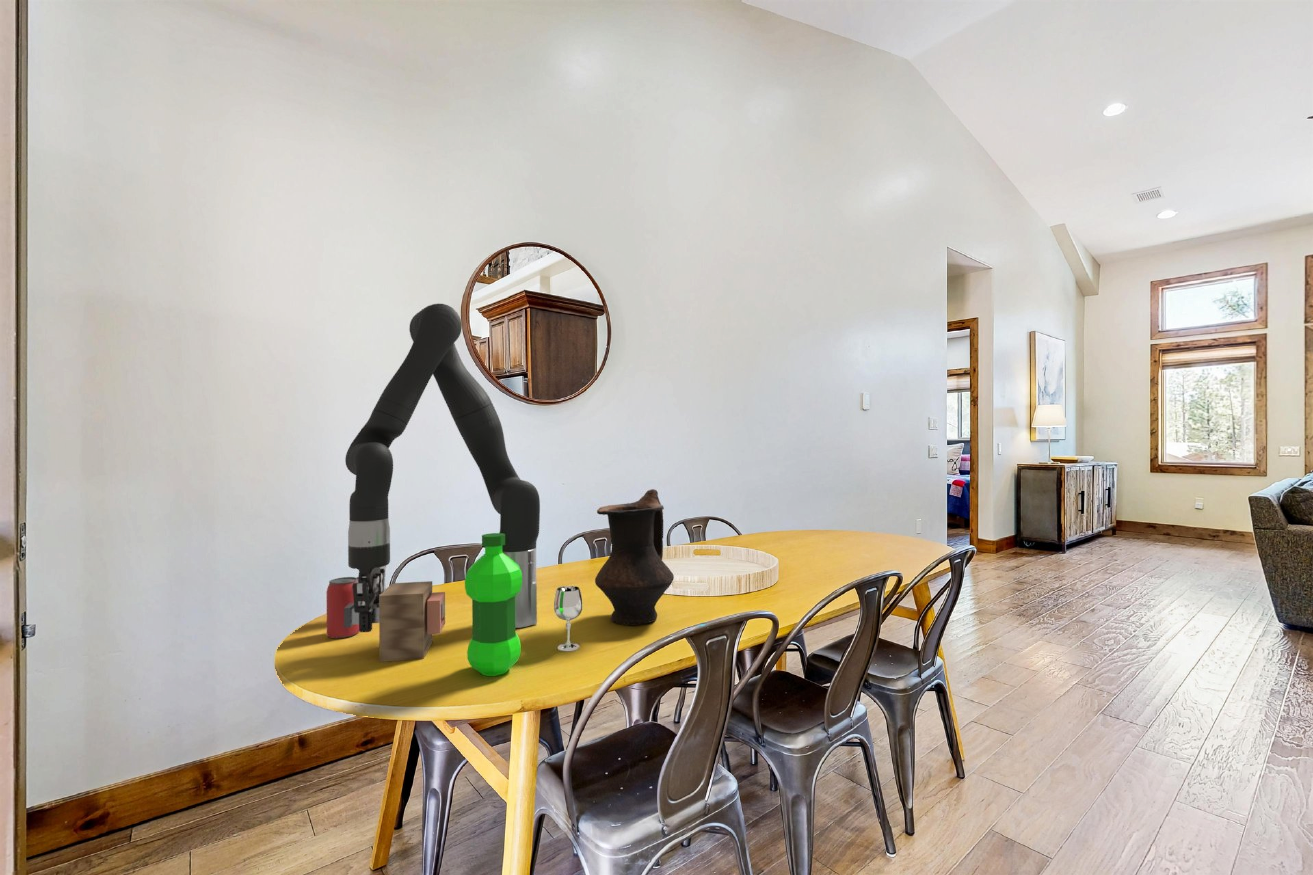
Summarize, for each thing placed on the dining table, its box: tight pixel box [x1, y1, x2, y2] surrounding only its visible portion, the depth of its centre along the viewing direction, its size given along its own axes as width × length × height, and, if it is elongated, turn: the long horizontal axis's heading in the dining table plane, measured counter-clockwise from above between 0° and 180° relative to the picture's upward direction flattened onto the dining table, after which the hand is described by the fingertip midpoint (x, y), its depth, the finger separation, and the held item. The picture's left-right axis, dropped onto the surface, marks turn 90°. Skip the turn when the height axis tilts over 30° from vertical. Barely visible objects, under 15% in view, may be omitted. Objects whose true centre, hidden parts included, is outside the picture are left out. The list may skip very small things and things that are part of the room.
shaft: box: [344, 599, 446, 628], centre depth 118 cm, size 18×4×4 cm, turn 101°
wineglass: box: [553, 585, 583, 652], centre depth 120 cm, size 6×6×12 cm
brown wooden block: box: [378, 580, 434, 663], centre depth 118 cm, size 8×10×13 cm
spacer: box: [427, 591, 446, 635], centre depth 119 cm, size 2×7×7 cm, turn 12°
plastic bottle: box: [464, 532, 522, 677], centre depth 108 cm, size 10×10×25 cm
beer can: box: [326, 576, 360, 639], centre depth 129 cm, size 7×7×12 cm
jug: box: [594, 488, 675, 626], centre depth 139 cm, size 21×18×30 cm
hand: (369, 626), depth 117 cm, fingers open, 5 cm apart
